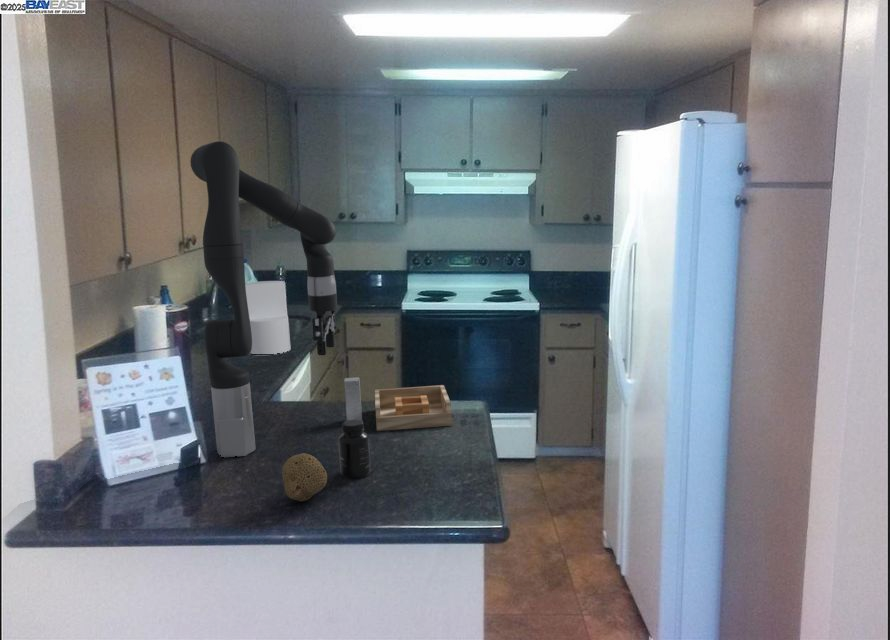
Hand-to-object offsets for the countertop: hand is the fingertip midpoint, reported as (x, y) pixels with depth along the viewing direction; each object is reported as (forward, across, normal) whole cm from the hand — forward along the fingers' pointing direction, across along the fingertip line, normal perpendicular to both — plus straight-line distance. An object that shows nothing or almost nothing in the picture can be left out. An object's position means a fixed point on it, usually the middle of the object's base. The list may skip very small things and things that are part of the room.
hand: (326, 350), depth 205 cm
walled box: (+20, +4, -22) cm, 30 cm away
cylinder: (+26, +98, +53) cm, 114 cm away
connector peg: (+20, 0, -6) cm, 21 cm away
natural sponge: (+18, -53, -9) cm, 57 cm away
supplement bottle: (+19, -38, -16) cm, 46 cm away
